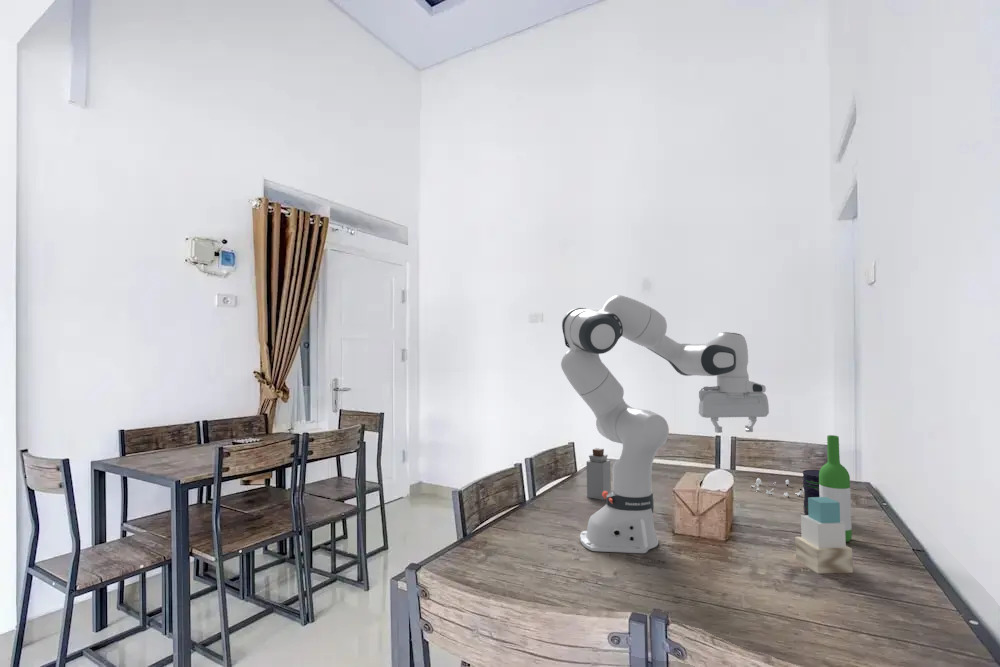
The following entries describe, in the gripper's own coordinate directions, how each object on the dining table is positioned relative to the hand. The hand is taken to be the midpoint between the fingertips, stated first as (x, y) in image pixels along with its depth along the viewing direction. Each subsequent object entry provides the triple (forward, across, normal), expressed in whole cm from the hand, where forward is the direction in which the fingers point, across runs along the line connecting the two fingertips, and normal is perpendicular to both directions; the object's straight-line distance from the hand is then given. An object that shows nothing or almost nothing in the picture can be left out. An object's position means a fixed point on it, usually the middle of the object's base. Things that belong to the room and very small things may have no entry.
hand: (733, 432), depth 157 cm
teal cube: (+19, +12, -22) cm, 32 cm away
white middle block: (+25, +12, -22) cm, 36 cm away
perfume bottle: (+31, -31, +45) cm, 63 cm away
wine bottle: (+31, +28, -4) cm, 42 cm away
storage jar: (+31, +35, +13) cm, 49 cm away
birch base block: (+31, +12, -22) cm, 40 cm away
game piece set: (+32, +41, +47) cm, 70 cm away
